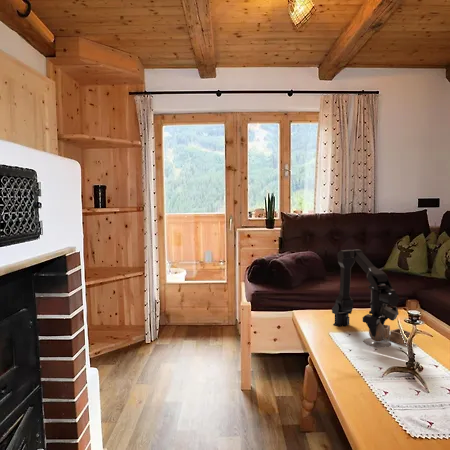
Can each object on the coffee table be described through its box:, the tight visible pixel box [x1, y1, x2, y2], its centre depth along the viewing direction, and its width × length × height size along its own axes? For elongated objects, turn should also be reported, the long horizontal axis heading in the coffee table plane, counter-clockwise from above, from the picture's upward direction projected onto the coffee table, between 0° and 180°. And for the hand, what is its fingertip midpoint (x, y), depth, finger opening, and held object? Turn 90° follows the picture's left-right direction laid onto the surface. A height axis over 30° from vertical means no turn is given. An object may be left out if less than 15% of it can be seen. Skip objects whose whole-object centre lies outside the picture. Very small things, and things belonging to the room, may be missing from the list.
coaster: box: [362, 337, 392, 349], centre depth 173 cm, size 12×12×1 cm
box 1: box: [384, 324, 391, 339], centre depth 182 cm, size 6×6×5 cm
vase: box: [368, 321, 385, 341], centre depth 173 cm, size 7×7×9 cm
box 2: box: [389, 328, 411, 345], centre depth 174 cm, size 6×6×5 cm
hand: (377, 334), depth 173 cm, fingers closed on vase, 7 cm apart
